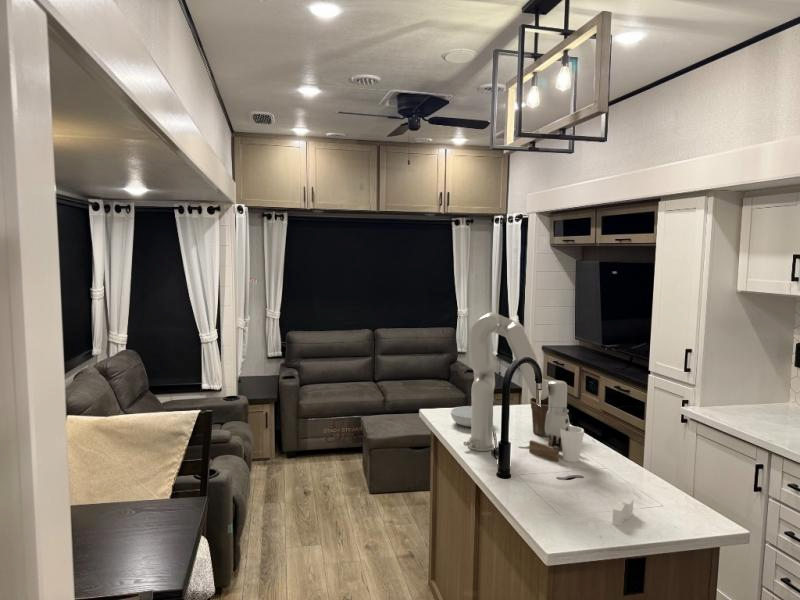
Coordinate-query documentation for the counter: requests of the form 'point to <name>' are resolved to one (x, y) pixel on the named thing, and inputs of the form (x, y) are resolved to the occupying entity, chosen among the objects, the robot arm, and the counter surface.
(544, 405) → the plant pot
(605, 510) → the counter surface
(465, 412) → the serving bowl
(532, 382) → the robot arm
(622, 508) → the napkin holder
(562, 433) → the foam cup
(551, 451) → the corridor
